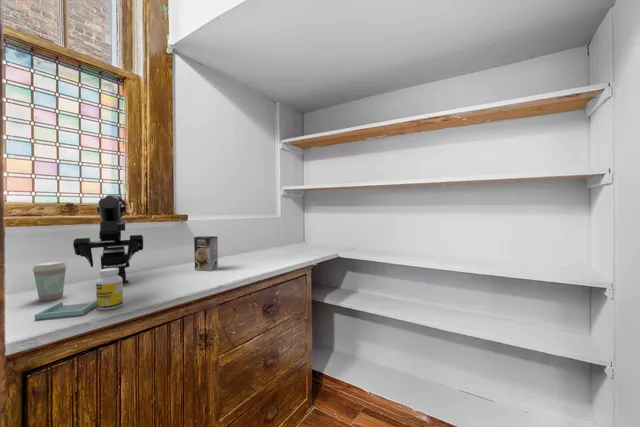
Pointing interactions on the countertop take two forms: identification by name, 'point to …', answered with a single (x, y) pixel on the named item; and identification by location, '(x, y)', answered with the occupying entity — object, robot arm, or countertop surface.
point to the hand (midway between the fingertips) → (110, 264)
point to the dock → (65, 310)
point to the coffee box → (206, 253)
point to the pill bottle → (109, 289)
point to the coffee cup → (50, 279)
